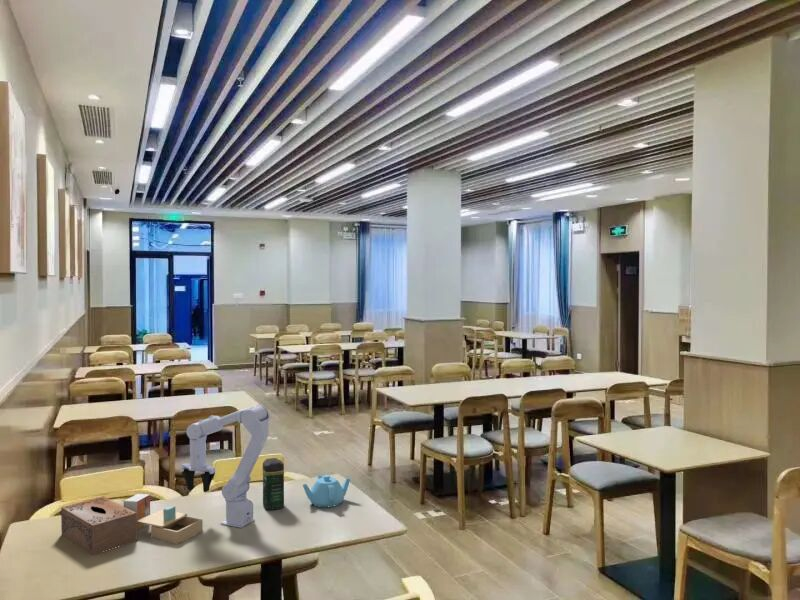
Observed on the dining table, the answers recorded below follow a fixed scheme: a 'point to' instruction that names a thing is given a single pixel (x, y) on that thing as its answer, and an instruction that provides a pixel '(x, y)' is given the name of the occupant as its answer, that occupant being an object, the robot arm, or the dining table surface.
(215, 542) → the dining table surface
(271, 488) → the coffee jar
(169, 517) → the tan flat square block
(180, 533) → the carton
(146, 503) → the small box
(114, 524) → the tissue box cover
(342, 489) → the teapot
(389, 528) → the dining table surface
